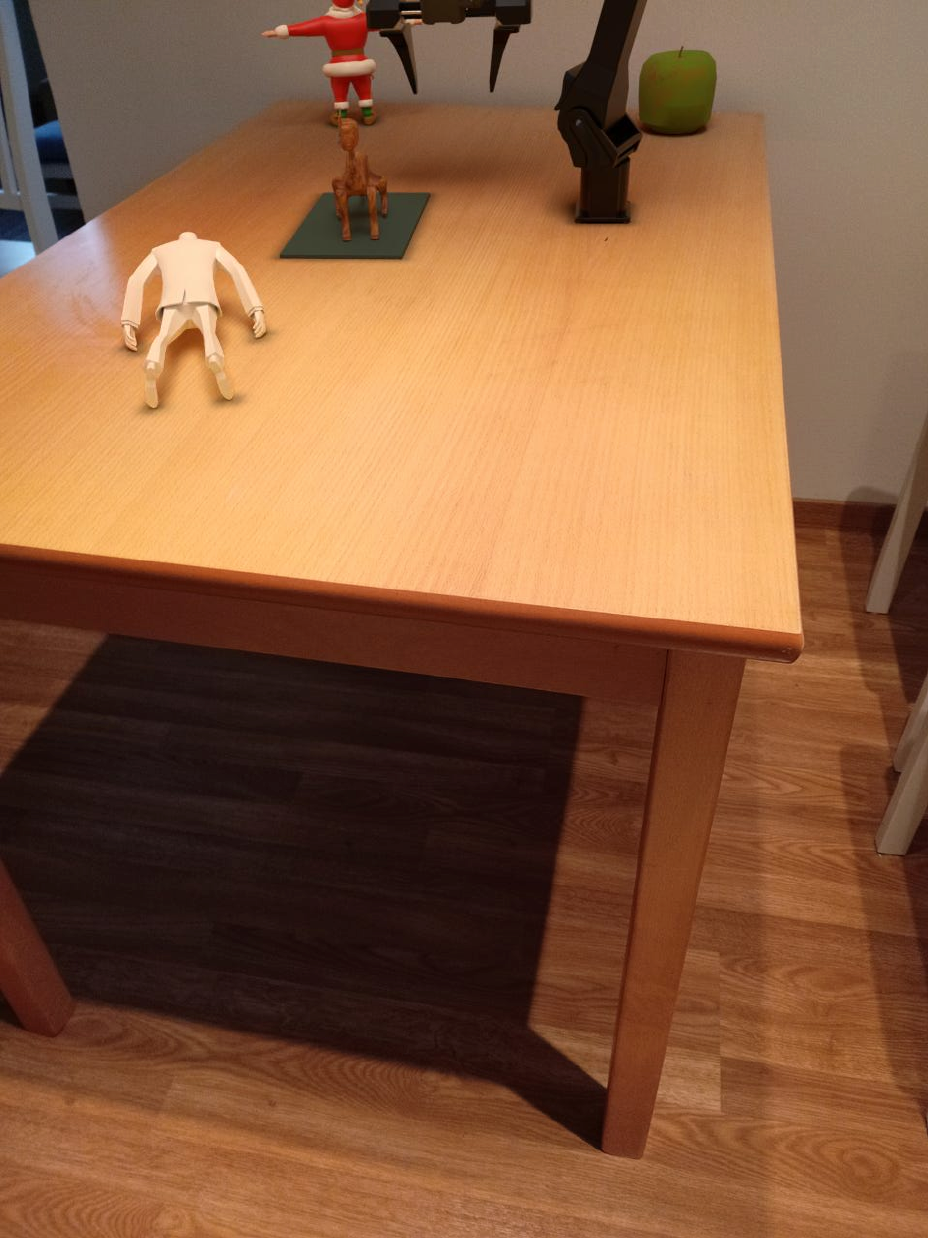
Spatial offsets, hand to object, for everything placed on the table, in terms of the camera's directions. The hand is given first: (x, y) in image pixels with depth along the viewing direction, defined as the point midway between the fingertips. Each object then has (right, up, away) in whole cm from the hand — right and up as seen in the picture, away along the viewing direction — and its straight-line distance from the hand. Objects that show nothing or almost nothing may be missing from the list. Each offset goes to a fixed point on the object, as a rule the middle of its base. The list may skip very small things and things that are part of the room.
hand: (453, 92), depth 118 cm
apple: (+32, +9, +28) cm, 44 cm away
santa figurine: (-16, +14, +37) cm, 42 cm away
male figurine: (-24, -37, -24) cm, 50 cm away
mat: (-11, -16, +1) cm, 19 cm away
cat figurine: (-11, -15, +1) cm, 19 cm away
